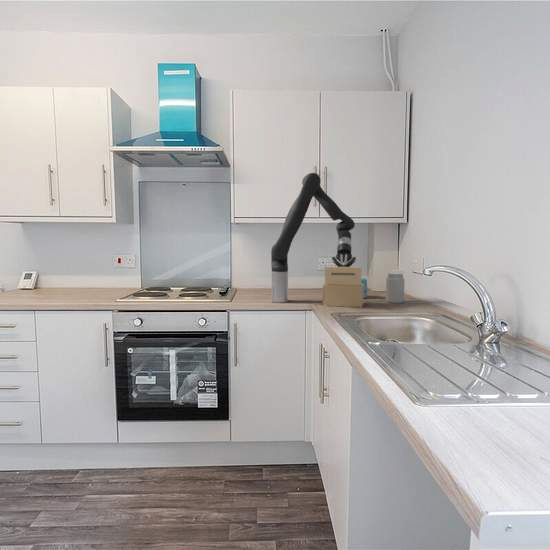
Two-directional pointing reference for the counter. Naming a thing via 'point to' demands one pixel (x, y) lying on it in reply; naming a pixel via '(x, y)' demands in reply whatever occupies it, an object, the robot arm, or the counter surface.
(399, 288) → the jar
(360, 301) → the carton
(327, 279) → the flap
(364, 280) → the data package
